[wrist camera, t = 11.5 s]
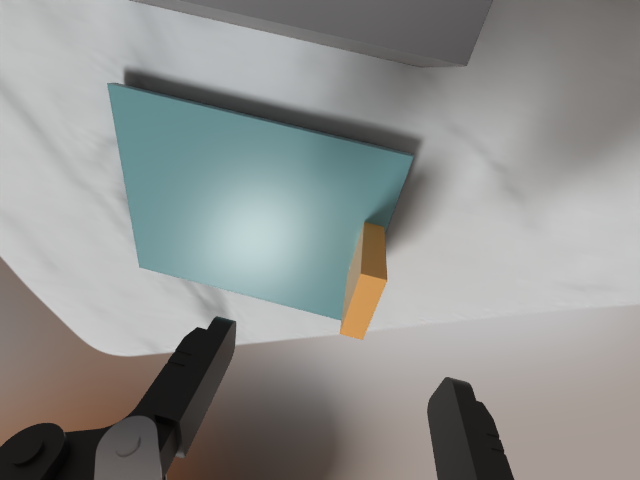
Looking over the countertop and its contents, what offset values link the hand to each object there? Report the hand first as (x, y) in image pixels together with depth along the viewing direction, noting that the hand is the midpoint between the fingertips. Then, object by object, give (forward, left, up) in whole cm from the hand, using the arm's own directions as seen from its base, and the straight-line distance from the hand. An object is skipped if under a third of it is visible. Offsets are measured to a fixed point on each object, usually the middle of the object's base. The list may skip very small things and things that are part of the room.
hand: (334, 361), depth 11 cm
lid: (-6, 0, -9) cm, 11 cm away
